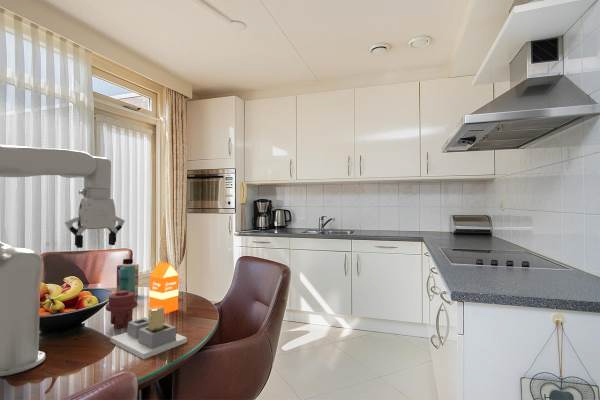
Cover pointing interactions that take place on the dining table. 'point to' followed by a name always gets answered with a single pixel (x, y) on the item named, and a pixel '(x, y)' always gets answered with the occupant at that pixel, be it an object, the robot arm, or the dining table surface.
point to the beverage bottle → (127, 277)
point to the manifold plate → (147, 339)
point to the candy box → (135, 276)
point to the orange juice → (164, 287)
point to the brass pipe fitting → (156, 319)
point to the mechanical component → (121, 308)
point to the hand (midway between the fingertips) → (96, 246)
